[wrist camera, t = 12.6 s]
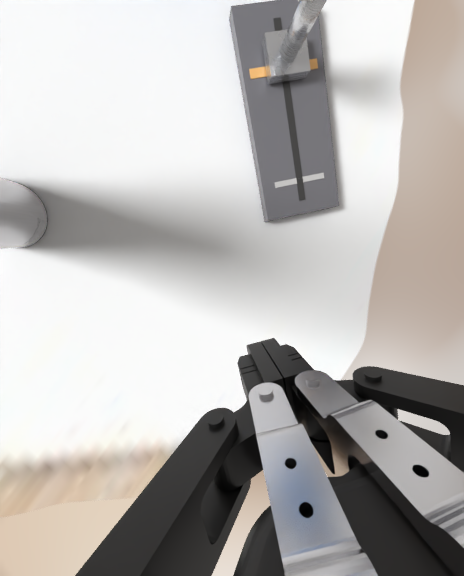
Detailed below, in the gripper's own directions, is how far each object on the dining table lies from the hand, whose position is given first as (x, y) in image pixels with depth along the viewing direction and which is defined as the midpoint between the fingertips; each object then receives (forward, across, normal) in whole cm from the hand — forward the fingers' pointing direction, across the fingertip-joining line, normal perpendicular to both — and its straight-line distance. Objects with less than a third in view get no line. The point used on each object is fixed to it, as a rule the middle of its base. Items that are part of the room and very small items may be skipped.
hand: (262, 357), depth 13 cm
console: (+29, -16, -21) cm, 39 cm away
